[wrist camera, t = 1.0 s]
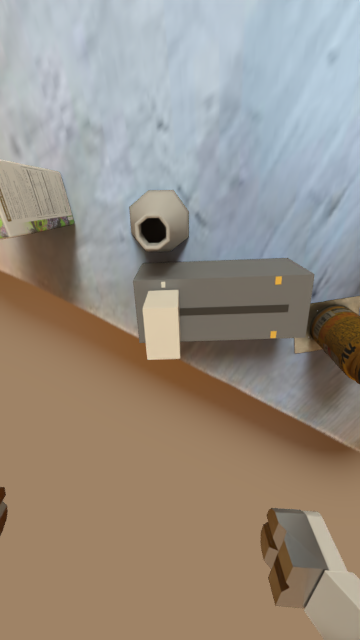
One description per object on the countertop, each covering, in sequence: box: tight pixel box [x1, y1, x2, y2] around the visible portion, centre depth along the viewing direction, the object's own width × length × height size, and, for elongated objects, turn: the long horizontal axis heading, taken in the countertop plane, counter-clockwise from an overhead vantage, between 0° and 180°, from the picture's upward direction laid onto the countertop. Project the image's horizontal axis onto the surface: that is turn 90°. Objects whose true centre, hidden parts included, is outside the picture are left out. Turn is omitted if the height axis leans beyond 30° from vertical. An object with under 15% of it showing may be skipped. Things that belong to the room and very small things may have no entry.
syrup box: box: [0, 160, 74, 239], centre depth 27 cm, size 6×6×14 cm
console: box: [133, 258, 314, 343], centre depth 34 cm, size 18×7×8 cm, turn 92°
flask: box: [129, 190, 189, 252], centre depth 30 cm, size 7×7×10 cm
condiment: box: [295, 296, 360, 384], centre depth 35 cm, size 7×8×12 cm
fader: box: [143, 290, 180, 360], centre depth 28 cm, size 3×5×5 cm, turn 2°
